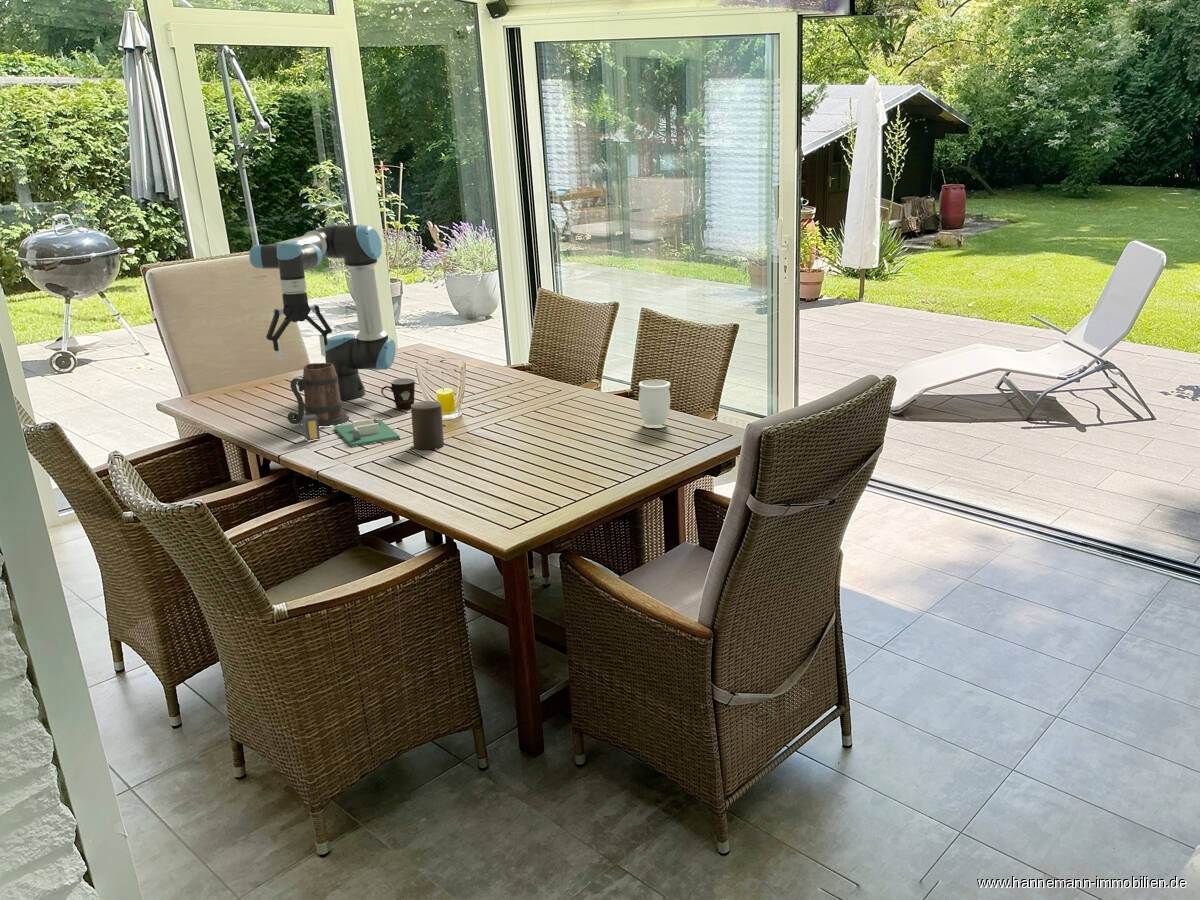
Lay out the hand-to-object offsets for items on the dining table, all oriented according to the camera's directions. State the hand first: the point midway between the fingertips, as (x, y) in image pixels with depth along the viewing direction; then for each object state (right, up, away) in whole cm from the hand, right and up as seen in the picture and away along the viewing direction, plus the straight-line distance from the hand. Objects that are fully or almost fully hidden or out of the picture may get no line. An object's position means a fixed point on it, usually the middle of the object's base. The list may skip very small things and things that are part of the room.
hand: (302, 358), depth 312 cm
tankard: (-3, -20, +27) cm, 34 cm away
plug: (+1, -26, +9) cm, 28 cm away
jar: (+114, -22, +15) cm, 117 cm away
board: (+17, -24, +13) cm, 33 cm away
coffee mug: (+23, -14, +43) cm, 51 cm away
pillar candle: (+41, -28, 0) cm, 50 cm away
